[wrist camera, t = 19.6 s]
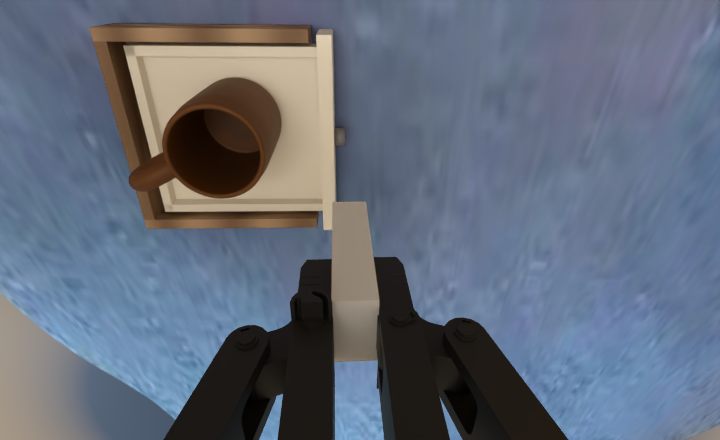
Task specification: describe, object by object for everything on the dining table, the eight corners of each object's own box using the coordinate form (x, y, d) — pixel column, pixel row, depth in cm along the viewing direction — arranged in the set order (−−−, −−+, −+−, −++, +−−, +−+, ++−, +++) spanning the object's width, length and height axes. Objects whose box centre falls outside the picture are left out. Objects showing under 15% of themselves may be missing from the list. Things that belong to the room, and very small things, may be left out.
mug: (189, 184, 41) (150, 234, 33) (141, 114, 37) (84, 150, 29) (297, 138, 39) (285, 179, 31) (257, 60, 36) (232, 83, 27)
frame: (162, 209, 44) (146, 228, 41) (114, 23, 35) (89, 27, 32) (319, 208, 45) (317, 227, 42) (311, 24, 36) (307, 29, 33)
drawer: (177, 208, 44) (160, 231, 40) (134, 27, 35) (107, 33, 31) (345, 207, 45) (346, 229, 41) (344, 29, 36) (344, 35, 32)
